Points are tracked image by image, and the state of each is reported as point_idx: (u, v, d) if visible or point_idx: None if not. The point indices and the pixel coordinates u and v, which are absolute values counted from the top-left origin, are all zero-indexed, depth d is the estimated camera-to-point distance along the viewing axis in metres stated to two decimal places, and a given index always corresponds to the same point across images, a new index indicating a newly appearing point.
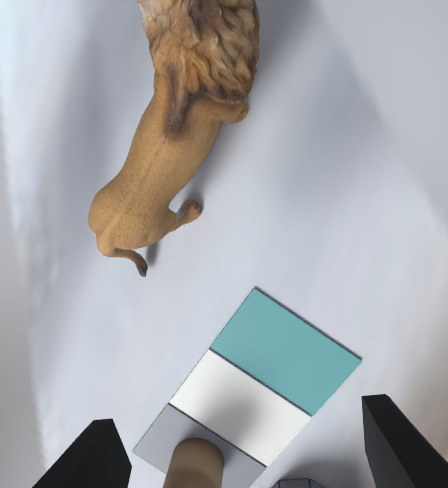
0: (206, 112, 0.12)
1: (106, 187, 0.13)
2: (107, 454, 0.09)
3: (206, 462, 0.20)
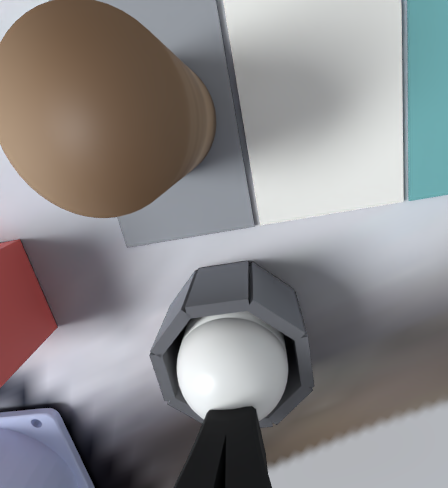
0: None
1: None
2: None
3: (207, 100, 0.09)
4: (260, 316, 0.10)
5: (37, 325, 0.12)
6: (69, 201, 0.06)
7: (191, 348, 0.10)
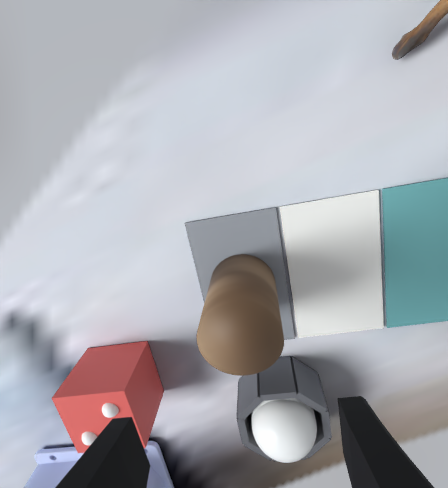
0: None
1: None
2: (128, 452, 0.09)
3: (276, 291, 0.16)
4: (302, 400, 0.17)
5: (157, 393, 0.20)
6: (224, 368, 0.14)
7: (263, 418, 0.17)
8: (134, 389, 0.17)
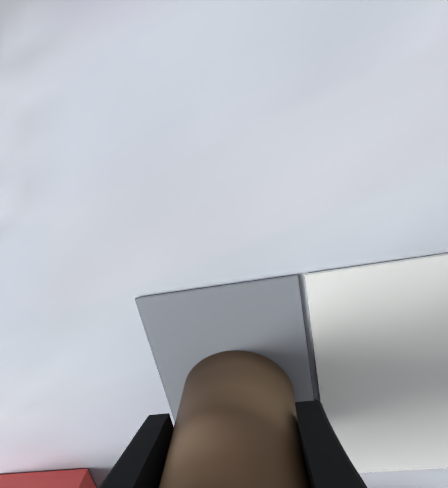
0: None
1: None
2: (167, 450, 0.09)
3: None
4: None
5: None
6: None
7: None
8: None
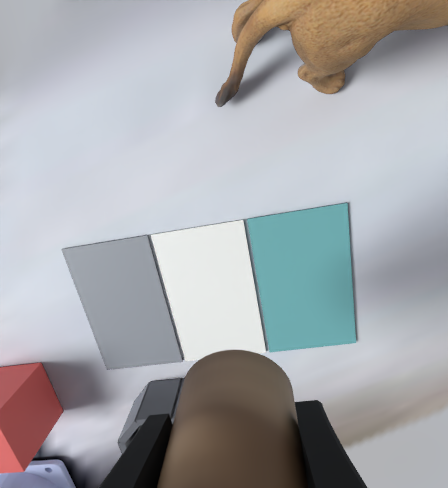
0: None
1: None
2: None
3: (298, 432, 0.09)
4: None
5: (51, 414, 0.20)
6: None
7: None
8: (12, 414, 0.17)
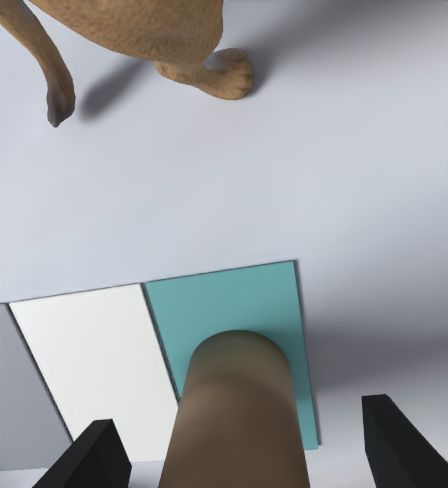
0: None
1: None
2: (107, 454, 0.09)
3: (295, 401, 0.10)
4: None
5: None
6: None
7: None
8: None
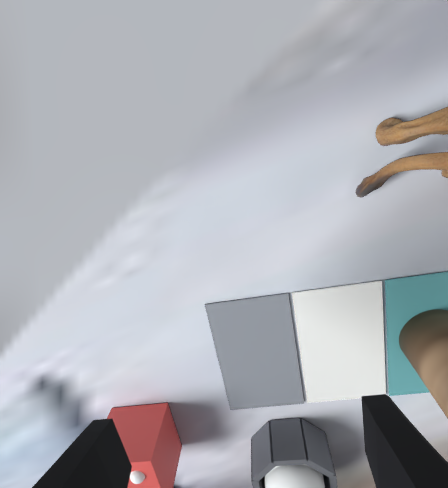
0: None
1: None
2: (107, 454, 0.09)
3: None
4: (312, 466, 0.19)
5: (176, 450, 0.22)
6: None
7: (276, 482, 0.19)
8: (158, 456, 0.19)
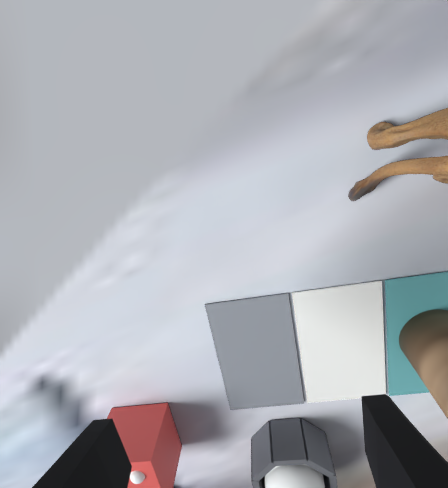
0: None
1: None
2: (107, 454, 0.09)
3: None
4: (312, 466, 0.19)
5: (176, 450, 0.22)
6: None
7: (276, 482, 0.19)
8: (158, 456, 0.19)
